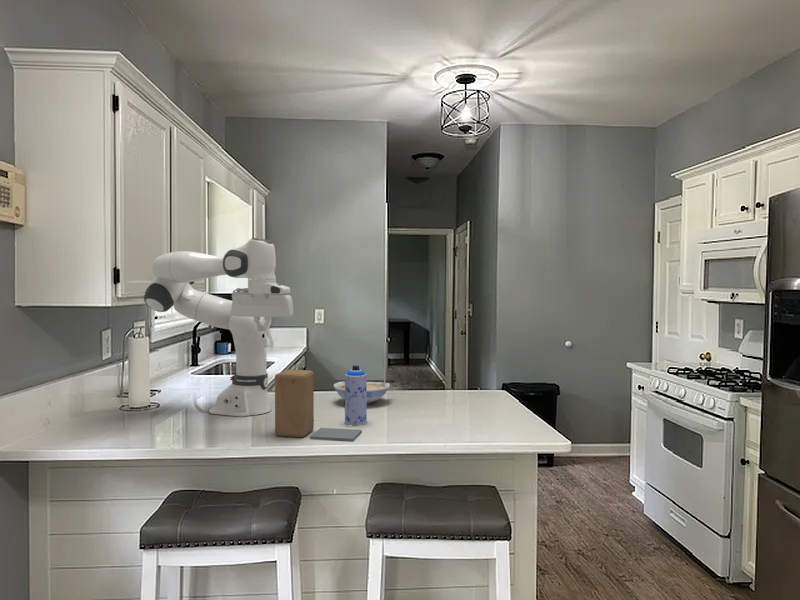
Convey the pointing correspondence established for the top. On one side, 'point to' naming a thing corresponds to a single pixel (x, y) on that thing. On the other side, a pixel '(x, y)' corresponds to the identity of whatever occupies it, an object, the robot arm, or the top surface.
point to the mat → (336, 434)
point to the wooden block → (294, 403)
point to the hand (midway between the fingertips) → (262, 330)
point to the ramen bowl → (373, 389)
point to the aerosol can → (355, 397)
